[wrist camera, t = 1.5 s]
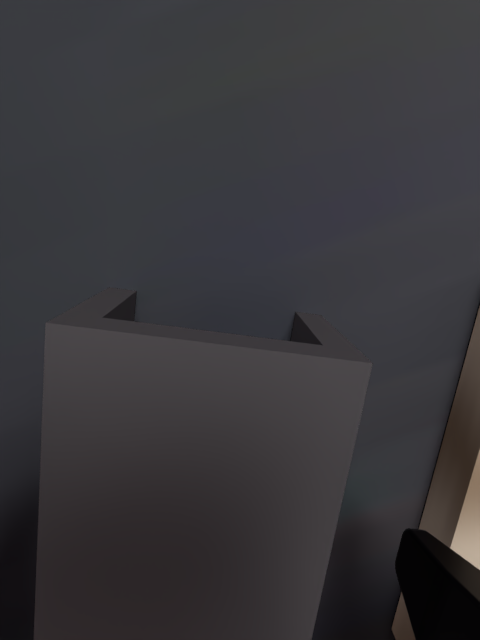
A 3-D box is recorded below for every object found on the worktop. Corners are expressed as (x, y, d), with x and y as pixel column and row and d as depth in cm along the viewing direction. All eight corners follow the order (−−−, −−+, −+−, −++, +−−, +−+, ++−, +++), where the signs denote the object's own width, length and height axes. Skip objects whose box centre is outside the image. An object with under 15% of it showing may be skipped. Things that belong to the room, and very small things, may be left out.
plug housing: (273, 563, 13) (295, 710, 9) (91, 547, 12) (31, 693, 9) (320, 314, 11) (372, 362, 7) (109, 286, 11) (46, 323, 7)
